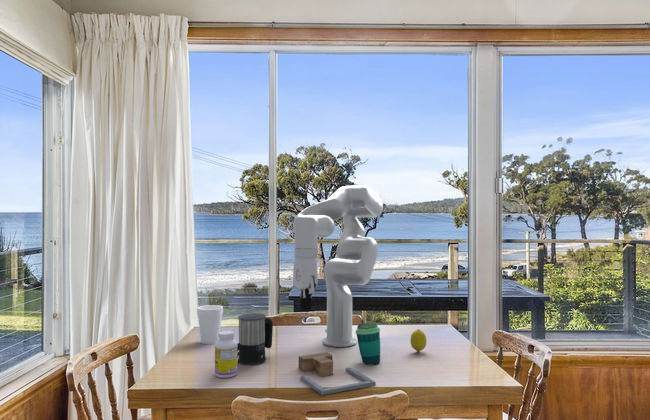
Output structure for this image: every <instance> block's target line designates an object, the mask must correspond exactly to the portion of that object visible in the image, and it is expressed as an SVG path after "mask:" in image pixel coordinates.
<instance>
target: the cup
mask: <svg viewBox="0 0 650 420" xmlns="http://www.w3.org/2000/svg"><path fill="white" fill-rule="evenodd" d="M380 332H381V328H380V327H379V326H378V324H376V323H370V322H369V323H368V322H367V323H366V322H365V323H359V324H358V325H357V327H356V330H355V334H356V338H357V339H356V340H357V345H358V350H359V354H360V357H361V363H362V364H364V365H367V366H368V365H369V366H375V365H379V364H380V362H381V338H380V335H381V334H380Z"/></svg>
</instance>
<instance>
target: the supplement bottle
mask: <svg viewBox="0 0 650 420" xmlns="http://www.w3.org/2000/svg"><path fill="white" fill-rule="evenodd" d="M218 337H219V340H218V341H217V342H216V343H215V344H214V374H215V375H214V376H215V377H217V378H220V379H228V378H233V377H235V376H236V375H238V356H237V343H238V341H237V340H235V339H234V338H235V331H233V330H220V332H219V333H218Z"/></svg>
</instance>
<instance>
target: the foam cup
mask: <svg viewBox="0 0 650 420" xmlns="http://www.w3.org/2000/svg"><path fill="white" fill-rule="evenodd" d="M196 308H197V309H196V311H197V312H196V314H197V318H198V325H199V334H200V335H199V336H200V342H201V344H202V345H215V343H216V342H217V341H218V340H219V337H218V333H219V332H221V327H222V317H223V313H224V306H223V305H218V304H207V305H206V304H205V305H201V306H198V307H196Z"/></svg>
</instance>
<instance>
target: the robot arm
mask: <svg viewBox="0 0 650 420" xmlns="http://www.w3.org/2000/svg"><path fill="white" fill-rule="evenodd" d="M383 210H384V203H383V201H382V199H381V197H380V196H379V195H378V194H377V193H376V192H375V191H374V190H373V189H372V188H370V187H368V186H367V185H345V186H341V187H339V188H338V189H336V190H335V191H334V192H333V193H332V194H331V195H330V196H329V197H328V198H327V199H325V200H322V201H319V202H317V203H314V204H312V205H309V206H307V207H306V208H304V209H302V210H301V211H300V212H299V213H298V214H297V215H296V216H295V217H294V220H293V221H292V230H293V233H294V261H293V262H294V263H293V270H292V271H293V272H292V273H293V274H292V275H293V276H292V285H293V287H294V288H297V290H298V291H299V297H300V299H299V301H300V303H299V305H300V306H299V307H300V308H299V309H300V310H302V311H311V310H312V298H313V294H315V289H317V288H318V281H319V280H318V279H319V277H318V263H317V259H318V238H328V237H330V236H331V235H332V234H333V233H334V231H335V222H334V221H338V220H340V219H342V222H343V229H342V233H341V235H340V238H339V241H338V243H337V247H336V250H335V251H336V256H337V257H335V258H331V259H329V260H328V261H326V262H325V264H324V269H323V270H324V271H323V272H324V279H325V285H326V329H325V333H326V336H325V337H324V338H323V339H322V344H323V345H325V346H328V347H332V348H333V347H335V348H344V347H345V348H348V347H353V346H355V345H356V344H357V339H356V338H355V337H354V336H353V293H352V291H351V289H350V287H349V286H350V285H351V286H365V285H367V284H368V283H369V282H370V279H371V277H372V273H373V270H374V267H375V266H376V265H375V264H376V261H377V259H378V254H379V249H378V248H379V247H378V243H377V241H376V240H375V239H374V238H373V237H370V236H369V237H368V236H365V233H366V231H365V228H364V226H363V224H362V223H361V221H359V219H358V218H378V217H380V216H381V215H382V213H383ZM348 285H349V286H348Z"/></svg>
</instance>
